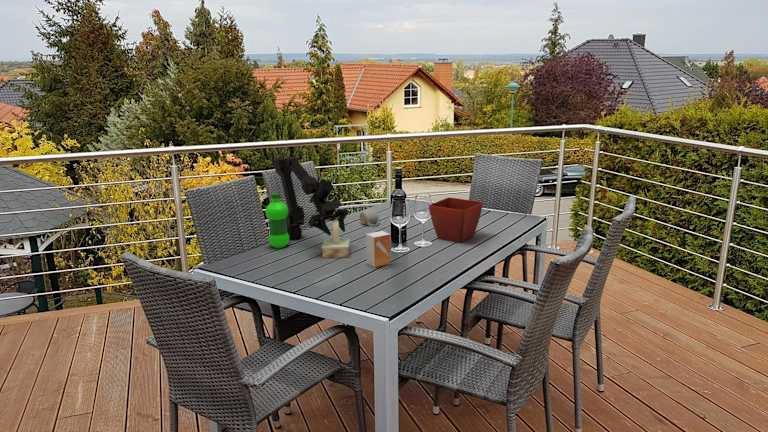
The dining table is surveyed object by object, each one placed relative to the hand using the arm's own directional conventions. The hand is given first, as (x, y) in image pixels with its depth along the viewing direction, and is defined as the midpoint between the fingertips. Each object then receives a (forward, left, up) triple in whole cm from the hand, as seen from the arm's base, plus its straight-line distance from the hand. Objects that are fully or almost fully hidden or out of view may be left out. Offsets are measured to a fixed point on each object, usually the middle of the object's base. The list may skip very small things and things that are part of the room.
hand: (337, 233), depth 239 cm
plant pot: (+54, +22, -10) cm, 59 cm away
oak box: (-1, +1, -10) cm, 10 cm away
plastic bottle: (-29, +13, -10) cm, 33 cm away
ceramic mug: (+13, +48, -10) cm, 51 cm away
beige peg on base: (-1, +1, -6) cm, 6 cm away
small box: (+18, -13, -10) cm, 25 cm away
